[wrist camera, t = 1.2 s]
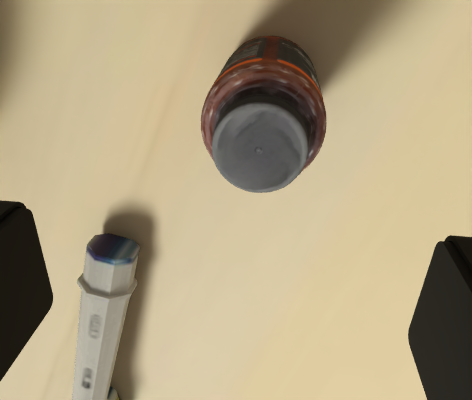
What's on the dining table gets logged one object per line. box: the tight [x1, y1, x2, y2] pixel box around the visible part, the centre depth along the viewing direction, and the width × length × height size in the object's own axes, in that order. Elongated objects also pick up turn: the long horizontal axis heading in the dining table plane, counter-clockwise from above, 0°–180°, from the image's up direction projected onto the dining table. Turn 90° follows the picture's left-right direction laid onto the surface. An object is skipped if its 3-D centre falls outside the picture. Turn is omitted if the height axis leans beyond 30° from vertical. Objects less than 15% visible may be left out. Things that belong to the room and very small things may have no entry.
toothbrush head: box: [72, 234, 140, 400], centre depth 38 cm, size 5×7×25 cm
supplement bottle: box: [201, 36, 326, 193], centre depth 22 cm, size 6×6×11 cm
